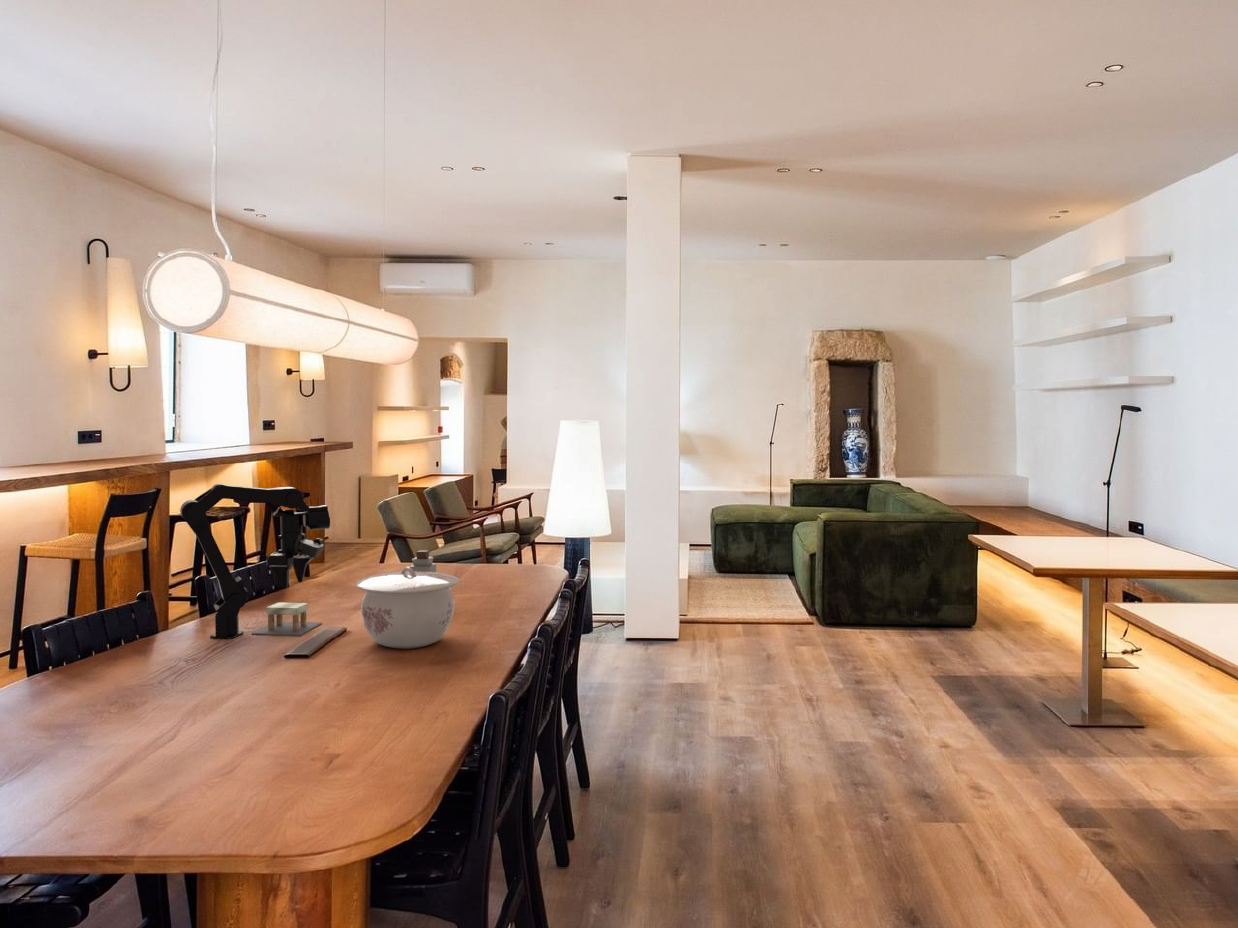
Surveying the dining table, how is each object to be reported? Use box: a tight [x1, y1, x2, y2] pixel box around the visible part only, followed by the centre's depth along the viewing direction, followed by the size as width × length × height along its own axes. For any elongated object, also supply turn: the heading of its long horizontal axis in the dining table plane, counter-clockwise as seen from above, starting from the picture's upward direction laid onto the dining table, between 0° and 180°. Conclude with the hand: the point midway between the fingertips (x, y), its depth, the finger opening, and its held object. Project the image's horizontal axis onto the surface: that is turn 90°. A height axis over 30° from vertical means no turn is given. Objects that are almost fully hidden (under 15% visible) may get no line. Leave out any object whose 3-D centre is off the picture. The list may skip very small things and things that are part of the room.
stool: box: [266, 602, 309, 631], centre depth 246 cm, size 9×6×6 cm
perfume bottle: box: [408, 549, 437, 572], centre depth 276 cm, size 7×7×18 cm
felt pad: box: [251, 621, 323, 637], centre depth 246 cm, size 14×14×1 cm
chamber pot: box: [355, 566, 461, 650], centre depth 232 cm, size 28×28×21 cm
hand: (292, 585), depth 246 cm, fingers open, 9 cm apart
